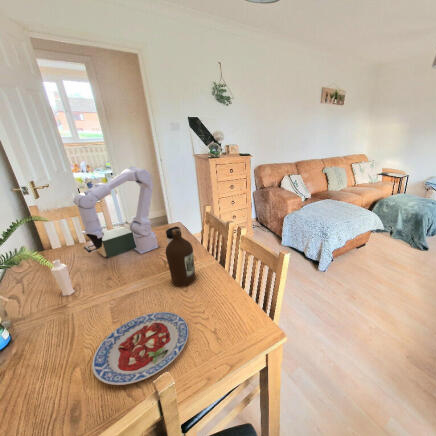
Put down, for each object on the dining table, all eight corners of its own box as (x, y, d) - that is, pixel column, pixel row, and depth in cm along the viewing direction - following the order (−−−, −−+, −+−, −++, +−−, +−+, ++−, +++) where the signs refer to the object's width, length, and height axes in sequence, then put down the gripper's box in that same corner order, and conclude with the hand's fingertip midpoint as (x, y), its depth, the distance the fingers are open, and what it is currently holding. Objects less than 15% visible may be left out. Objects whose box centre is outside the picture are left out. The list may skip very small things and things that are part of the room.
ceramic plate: (88, 345, 76) (85, 338, 74) (172, 305, 92) (171, 299, 91) (103, 412, 59) (99, 404, 58) (202, 349, 76) (201, 342, 75)
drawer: (92, 261, 116) (87, 247, 113) (84, 254, 122) (80, 240, 119) (131, 247, 130) (127, 234, 127) (122, 241, 135) (119, 229, 132)
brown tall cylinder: (188, 262, 120) (183, 226, 112) (181, 270, 114) (175, 232, 106) (176, 261, 120) (170, 225, 113) (169, 269, 114) (162, 231, 107)
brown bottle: (166, 286, 103) (155, 234, 93) (179, 272, 112) (171, 224, 103) (189, 288, 102) (181, 236, 92) (200, 274, 112) (194, 225, 102)
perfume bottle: (58, 294, 96) (45, 262, 90) (72, 287, 99) (60, 257, 94) (64, 298, 94) (50, 266, 88) (77, 291, 98) (65, 260, 92)
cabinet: (107, 257, 121) (103, 241, 117) (98, 250, 127) (93, 234, 123) (136, 247, 131) (132, 231, 128) (126, 241, 137) (122, 226, 134)
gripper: (73, 218, 106) (82, 245, 111) (85, 227, 99) (94, 255, 104) (92, 214, 111) (100, 240, 117) (105, 222, 104) (113, 249, 109)
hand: (98, 247), depth 111 cm, fingers closed
